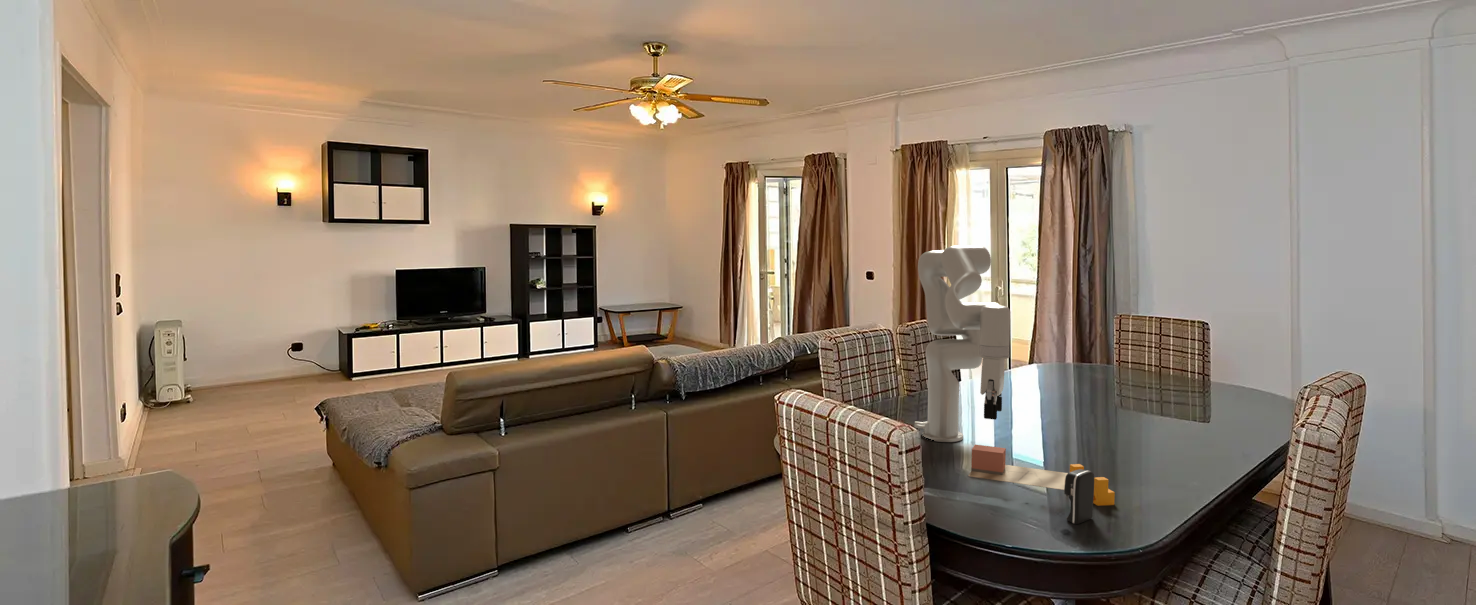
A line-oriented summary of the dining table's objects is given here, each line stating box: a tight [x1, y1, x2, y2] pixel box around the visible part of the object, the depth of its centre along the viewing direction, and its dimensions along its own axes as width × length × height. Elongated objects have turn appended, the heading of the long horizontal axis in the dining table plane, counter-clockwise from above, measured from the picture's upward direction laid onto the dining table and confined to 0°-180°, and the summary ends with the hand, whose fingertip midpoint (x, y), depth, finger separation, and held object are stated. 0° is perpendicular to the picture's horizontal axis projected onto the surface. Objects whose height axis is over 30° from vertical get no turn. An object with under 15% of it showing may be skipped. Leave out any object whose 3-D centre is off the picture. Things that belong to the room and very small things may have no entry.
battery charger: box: [1063, 469, 1095, 525], centre depth 166 cm, size 7×4×11 cm, turn 124°
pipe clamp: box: [1069, 463, 1116, 507], centre depth 181 cm, size 12×4×6 cm, turn 7°
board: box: [967, 464, 1069, 497], centre depth 193 cm, size 24×14×2 cm, turn 62°
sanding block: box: [970, 444, 1007, 475], centre depth 196 cm, size 8×5×6 cm, turn 62°
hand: (992, 414), depth 195 cm, fingers open, 9 cm apart
